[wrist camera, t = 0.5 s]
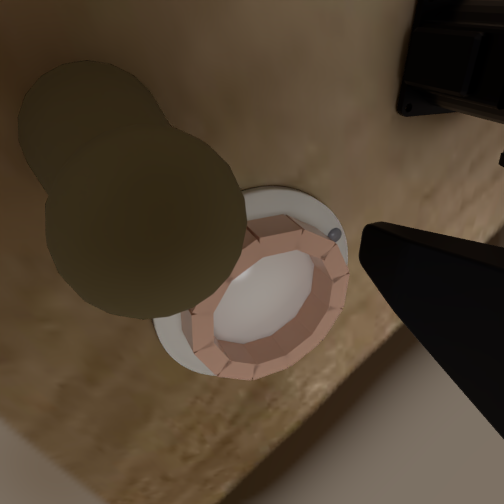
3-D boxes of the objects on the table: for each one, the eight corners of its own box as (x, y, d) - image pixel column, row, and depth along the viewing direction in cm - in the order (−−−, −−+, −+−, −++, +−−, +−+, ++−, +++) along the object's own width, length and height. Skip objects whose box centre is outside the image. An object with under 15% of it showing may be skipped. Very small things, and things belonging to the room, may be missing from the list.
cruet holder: (354, 172, 26) (385, 188, 24) (328, 336, 33) (350, 361, 31) (139, 205, 21) (154, 229, 19) (159, 392, 28) (172, 426, 25)
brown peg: (146, 210, 21) (238, 353, 13) (7, 188, 18) (8, 360, 10) (179, 86, 19) (315, 161, 11) (29, 37, 16) (55, 87, 8)
